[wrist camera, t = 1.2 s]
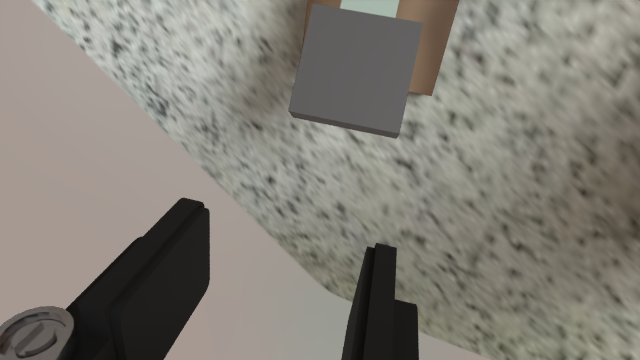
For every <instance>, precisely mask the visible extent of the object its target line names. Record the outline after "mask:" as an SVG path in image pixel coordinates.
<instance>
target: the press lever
mask: <svg viewBox="0 0 640 360" xmlns="http://www.w3.org/2000/svg"><path fill="white" fill-rule="evenodd" d="M398 4H399V0H342V2H341V6H340V8H336V7H330V6H324V5H319V4H313V6H312V10H311V14H310V19H309V23H308V27H307V32H306V36H305V40H304V45H303V49H302V53H301V58H300V62H299V66H298V71H297V75H296V80H295V84H294V88H293V93H292V97H291V101H290V106H289V110H288V111H289V112H290V114H291V115H292V116H293V117H294V118H299V119H304V120H309V121H314V122H318V123H323V124H328V125H333V126H338V127H343V128H347V129H352V130H357V131H362V132H367V133H372V134H377V135H381V136H386V137H391V138H397V137H398V135H399V133H400V128H401V124H402V119H403V114H404V110H405V105H406V101H407V96H408V92H409V87H410V82H411V78H412V73H413V69H414V64H415V60H416V55H417V51H418V46H419V41H420V37H421V32H422V28H423V23H422V22H416V21H410V20H405V19H399V18H396V13H397V9H398Z"/></svg>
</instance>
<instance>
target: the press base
mask: <svg viewBox="0 0 640 360" xmlns="http://www.w3.org/2000/svg"><path fill="white" fill-rule="evenodd" d="M341 2H342V0H308V4H307V13H306V22H305V31H304V39H303V45H304V40H305V36H306V32H307V27H308V23H309V19H310V14H311V10H312V6H313V4H319V5H324V6H330V7H336V8H340V6H341ZM458 3H459V0H399V4H398V9H397V13H396V18H399V19H405V20H410V21H416V22H422V23H423V28H422V32H421V37H420V41H419V46H418V51H417V55H416V60H415V64H414V69H413V73H412V78H411V82H410V87H409V92H414V93H419V94H424V95H429V96H432V93H433V89H434V86H435V83H436V79H437V76H438V72H439V69H440V65H441V62H442V58H443V55H444V51H445V48H446V44H447V41H448V37H449V34H450V31H451V27H452V24H453V20H454V17H455V13H456V10H457V6H458ZM302 49H303V48H302Z"/></svg>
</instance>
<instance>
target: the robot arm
mask: <svg viewBox="0 0 640 360" xmlns="http://www.w3.org/2000/svg"><path fill="white" fill-rule="evenodd" d="M209 222H210V221H209V210H208V209H207V208H204V204H203V202H200V201H195V200H191V199H187V198H181V199H180V200H179V201H178V202H177V203H176V204H175V205H174V206H173V207H172V208H171V209H170V210H169V211H168V212H167V213H166V214H165V215H164V216H163V217H162V218H161V219H160V220H159V221H158V222H157V223H156V224H155V225H154V226H153V227H152V228H151V229H150V230H149V231H148V232H147V233H146V234H145V235H144V236H143V237H139V238H137V239H136V240H135V241H133V242H132V243H131V244H130V245H129V246H128V247H127V248H126V249H125V250H124V251H123V253H121V254H120V255H119V256H118V257H117V258H116V259H115V260H114V262H112V263H111V264H110V265H109V266H108V267H107V269H105V270H104V271H103V273H102V274H100V275H99V276H98V277H97V278H96V279H95V280H94V281H93V282H92V283H91V284H90V285H89V286H88V287H87V288H86V289H85V290H84V291H83V292H82V293H81V294H80V295H79V296H78V297H77V298H76V299H75V301H73V302H72V303H71V304H70V305H69V306H68V307H67V308H66V309H65V310H64V309H63V308H59V307H54V306H46V307H38V308H33V309H30V310H26V311H24V312H22V313H19V314H17V315H15V316H14V317H12V318H11V319H9V320H7V321H6V322H4V323H3V324H2V325H1V326H0V360H164V358H165V356H166V355H167V353H168V352H169V350H170V348H171V347H172V345H173V344H174V342H175V340H176V339H177V337H178V336H179V334H180V332H181V331H182V329H183V328H184V326H185V324H186V323H187V321H188V320H189V318H190V316H191V315H192V313H193V312H194V310H195V308H196V307H197V305H198V304H199V302H200V300H201V299H202V297H203V296H204V294H205V292H206V290H207V288H208V285H209V280H210V242H209V241H210V238H209V237H210V236H209V235H210V232H209V231H210V226H209V225H210V224H209ZM396 255H397V248H396V247H391V246H387V245H383V244H379V243H376V245H375V248H372V247H368V246H367V249H366V252H365V256H364V260H363V264H362V268H361V272H360V276H359V280H358V284H357V288H356V292H355V296H354V300H353V304H352V308H351V312H350V315H349V320H348V325H347V330H346V336H345V342H344V347H343V353H342V359H341V360H419V350H418V311H417V306H416V304H412V303H408V302H404V301H400V300H396V299H395V277H396Z"/></svg>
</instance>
